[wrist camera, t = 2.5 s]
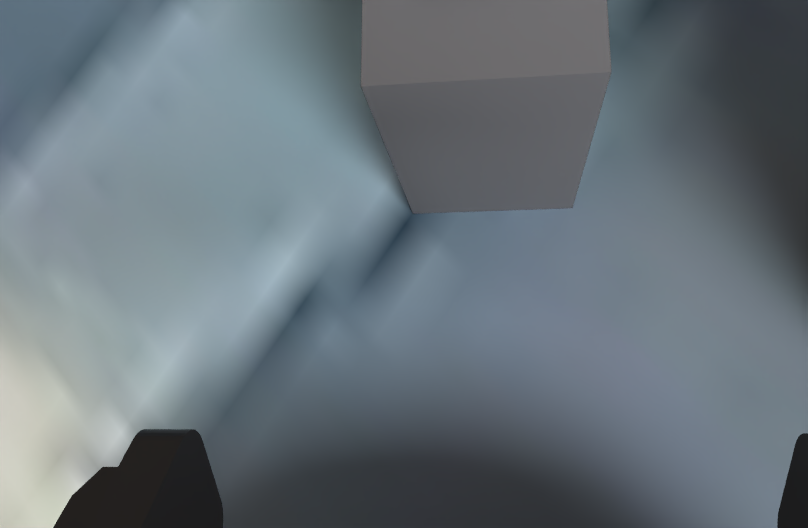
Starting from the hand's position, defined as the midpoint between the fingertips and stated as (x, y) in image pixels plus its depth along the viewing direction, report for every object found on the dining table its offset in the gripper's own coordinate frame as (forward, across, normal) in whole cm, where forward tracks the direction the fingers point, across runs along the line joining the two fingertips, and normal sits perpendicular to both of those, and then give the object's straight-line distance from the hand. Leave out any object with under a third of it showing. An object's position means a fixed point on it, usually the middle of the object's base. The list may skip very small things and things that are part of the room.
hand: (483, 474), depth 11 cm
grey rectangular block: (+18, 0, +3) cm, 18 cm away
